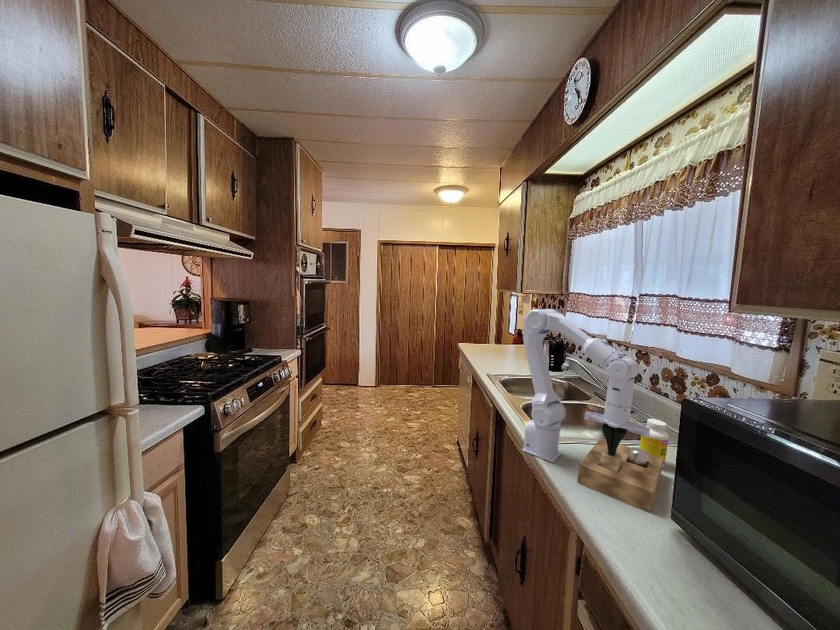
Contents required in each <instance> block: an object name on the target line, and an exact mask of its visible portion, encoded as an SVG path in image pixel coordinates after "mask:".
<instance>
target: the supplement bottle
mask: <svg viewBox="0 0 840 630" xmlns="http://www.w3.org/2000/svg"><path fill="white" fill-rule="evenodd" d="M645 427H648V428H650V433H649V437H648V438H646V437H643V435H640V441H639V447H638V448H640V449H643V450H645V451H647V452H648V453H649V454H652V455H655V456H658V457H661V458H663V463H662V468H664V467H665V465H666V458H667V452H668V451H667V450H668V445H669V440H670V439H669V438H670V436H669V434H668V432H666V431H665V430H666V429H667V423H666V422H664V421H662V420H660V419H656V418H647V421H646V426H645Z"/></svg>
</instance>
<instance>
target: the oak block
mask: <svg viewBox="0 0 840 630" xmlns="http://www.w3.org/2000/svg"><path fill="white" fill-rule="evenodd" d="M630 448H631V446H626V445H623V444H620V443H619V445H618V447H617V450H616V453H619V454H622V458H621V466H620V471H619V472H616V471H613V470H610V469H608V468H605V467H602V466H600V462H601V454H602V453H603V451H604V450H605V449H607V450H608V447H607V442H606V439H605V438H599V439H598V440H597V442H596V443H595V444H594V445H593V447H592V448H591V449H590V450H589V452H588V453H587V454H586V456H585V457H584V458H583V459H582V461H581V462H580V463H579V466H578V473H577V482H576V483H577V484H580V485H582V486H585V487H587V488H590V489H592V490H594V491H597V492H599V493H601V494H604V495H607V496H609V497H611V498H614V499H616V500H618V501H621V502H624V503H627V504H629V505H630V506H633V507H635V508H637V509H640V510H643V511H646V512H647V513H651V512H652V507H653V505H654V500H655V497H656V494H657V490H658V486H659V482H660V480H661V479H660V478H661V475H662V469H663V467H662V463H663V458H661V457H658V456H655V455H652V454H649V453H648V457H647V464H646V468H644V467H641V466H638V465H635V464H632V463H629V455H630Z"/></svg>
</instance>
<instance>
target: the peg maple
mask: <svg viewBox="0 0 840 630" xmlns="http://www.w3.org/2000/svg"><path fill="white" fill-rule="evenodd" d="M621 458H622V454H619V453H616V454H615V455H614V456H612V455H609V454H608V450H607V449H605V450H604V451H603V453H602V454H601V462H600V466H602V467H605V468H608V469H610V470H613V471H616V472H619V471H620V466H621Z"/></svg>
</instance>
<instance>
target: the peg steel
mask: <svg viewBox="0 0 840 630" xmlns="http://www.w3.org/2000/svg"><path fill="white" fill-rule="evenodd" d="M647 457H648V452H647V451H645V450H643V449H640V448H639V447H635V446H632V447H630V455H629V463H632V464H635V465H638V466H641V467H644V468H646V464H647Z"/></svg>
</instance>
